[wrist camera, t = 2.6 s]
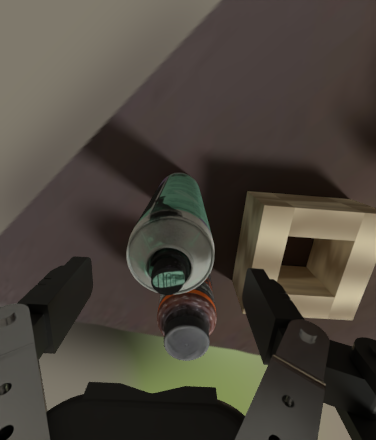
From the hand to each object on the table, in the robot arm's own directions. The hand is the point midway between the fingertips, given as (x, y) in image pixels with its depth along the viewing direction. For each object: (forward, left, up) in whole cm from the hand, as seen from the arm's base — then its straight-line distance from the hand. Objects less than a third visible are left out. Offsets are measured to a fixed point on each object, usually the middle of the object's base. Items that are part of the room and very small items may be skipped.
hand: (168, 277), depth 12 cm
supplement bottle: (+12, +2, -20) cm, 23 cm away
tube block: (+6, +16, -20) cm, 26 cm away
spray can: (0, 0, -20) cm, 20 cm away
